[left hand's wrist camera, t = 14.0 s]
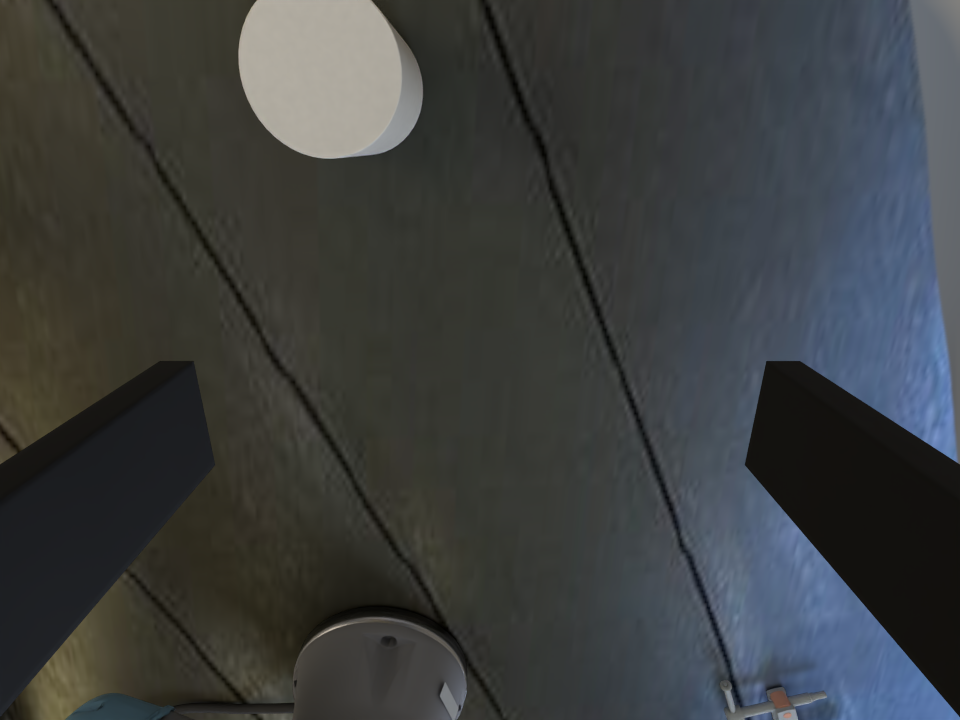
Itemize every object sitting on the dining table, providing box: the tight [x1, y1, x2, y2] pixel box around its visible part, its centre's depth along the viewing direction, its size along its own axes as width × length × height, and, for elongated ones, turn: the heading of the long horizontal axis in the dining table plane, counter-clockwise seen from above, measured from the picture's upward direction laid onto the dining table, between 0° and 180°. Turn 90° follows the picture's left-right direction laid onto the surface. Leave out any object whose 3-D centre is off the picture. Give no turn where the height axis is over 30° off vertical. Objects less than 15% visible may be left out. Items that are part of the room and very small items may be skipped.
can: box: [239, 0, 423, 159], centre depth 27 cm, size 7×7×8 cm
